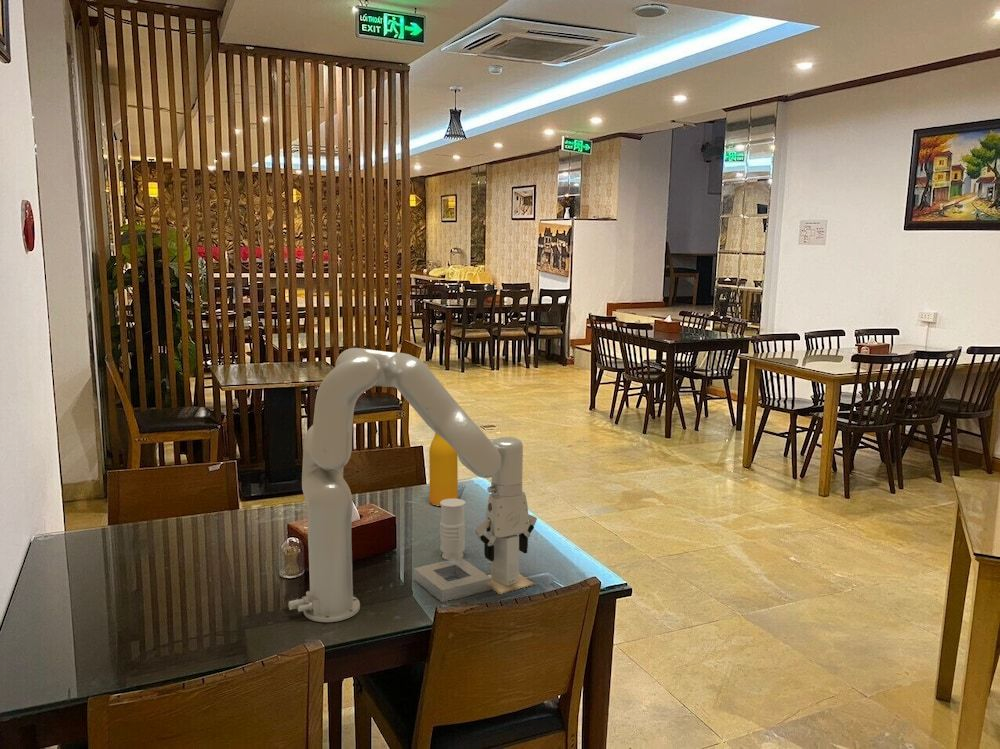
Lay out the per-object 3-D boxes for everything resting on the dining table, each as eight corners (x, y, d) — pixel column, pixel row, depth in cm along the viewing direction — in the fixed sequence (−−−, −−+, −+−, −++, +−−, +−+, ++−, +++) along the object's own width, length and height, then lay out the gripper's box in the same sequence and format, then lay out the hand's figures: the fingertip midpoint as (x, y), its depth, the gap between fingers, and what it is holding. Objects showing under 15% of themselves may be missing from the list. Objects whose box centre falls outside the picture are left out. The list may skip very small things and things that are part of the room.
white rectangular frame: (441, 602, 178) (441, 590, 178) (413, 579, 191) (413, 568, 190) (491, 589, 185) (491, 577, 185) (460, 568, 198) (460, 557, 197)
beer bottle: (426, 506, 246) (425, 418, 242) (433, 497, 256) (432, 413, 251) (454, 508, 245) (454, 420, 241) (460, 499, 254) (460, 414, 250)
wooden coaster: (499, 594, 182) (499, 592, 182) (478, 579, 191) (478, 577, 191) (534, 585, 188) (534, 583, 188) (511, 571, 196) (511, 569, 196)
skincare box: (519, 582, 188) (520, 535, 186) (506, 586, 185) (507, 539, 184) (502, 574, 193) (503, 529, 191) (490, 579, 190) (490, 533, 188)
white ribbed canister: (450, 563, 201) (450, 508, 199) (434, 555, 206) (434, 501, 204) (470, 556, 206) (470, 503, 203) (455, 549, 211) (454, 496, 208)
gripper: (484, 498, 178) (484, 568, 180) (544, 487, 187) (543, 553, 190) (468, 490, 184) (468, 557, 187) (527, 479, 193) (526, 544, 196)
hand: (506, 555), depth 188 cm, fingers open, 9 cm apart
